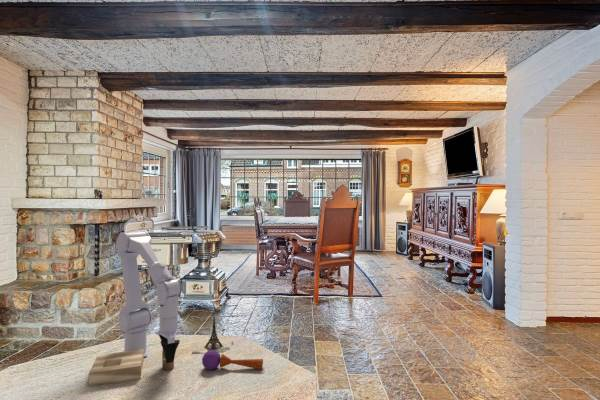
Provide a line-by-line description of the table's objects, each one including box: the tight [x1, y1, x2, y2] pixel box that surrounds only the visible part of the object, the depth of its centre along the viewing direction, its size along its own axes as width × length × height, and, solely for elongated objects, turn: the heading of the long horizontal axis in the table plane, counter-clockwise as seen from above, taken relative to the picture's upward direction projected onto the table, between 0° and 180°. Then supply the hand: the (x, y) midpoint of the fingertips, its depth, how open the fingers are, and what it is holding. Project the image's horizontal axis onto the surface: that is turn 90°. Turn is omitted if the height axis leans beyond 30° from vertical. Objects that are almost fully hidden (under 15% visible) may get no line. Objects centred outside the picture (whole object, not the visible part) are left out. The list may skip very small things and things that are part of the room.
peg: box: [161, 348, 175, 372], centre depth 116 cm, size 4×4×8 cm
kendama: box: [201, 350, 264, 371], centre depth 117 cm, size 6×6×20 cm
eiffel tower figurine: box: [191, 315, 234, 355], centre depth 133 cm, size 15×10×13 cm
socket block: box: [88, 349, 144, 387], centre depth 113 cm, size 13×14×4 cm
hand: (168, 357), depth 116 cm, fingers open, 7 cm apart
